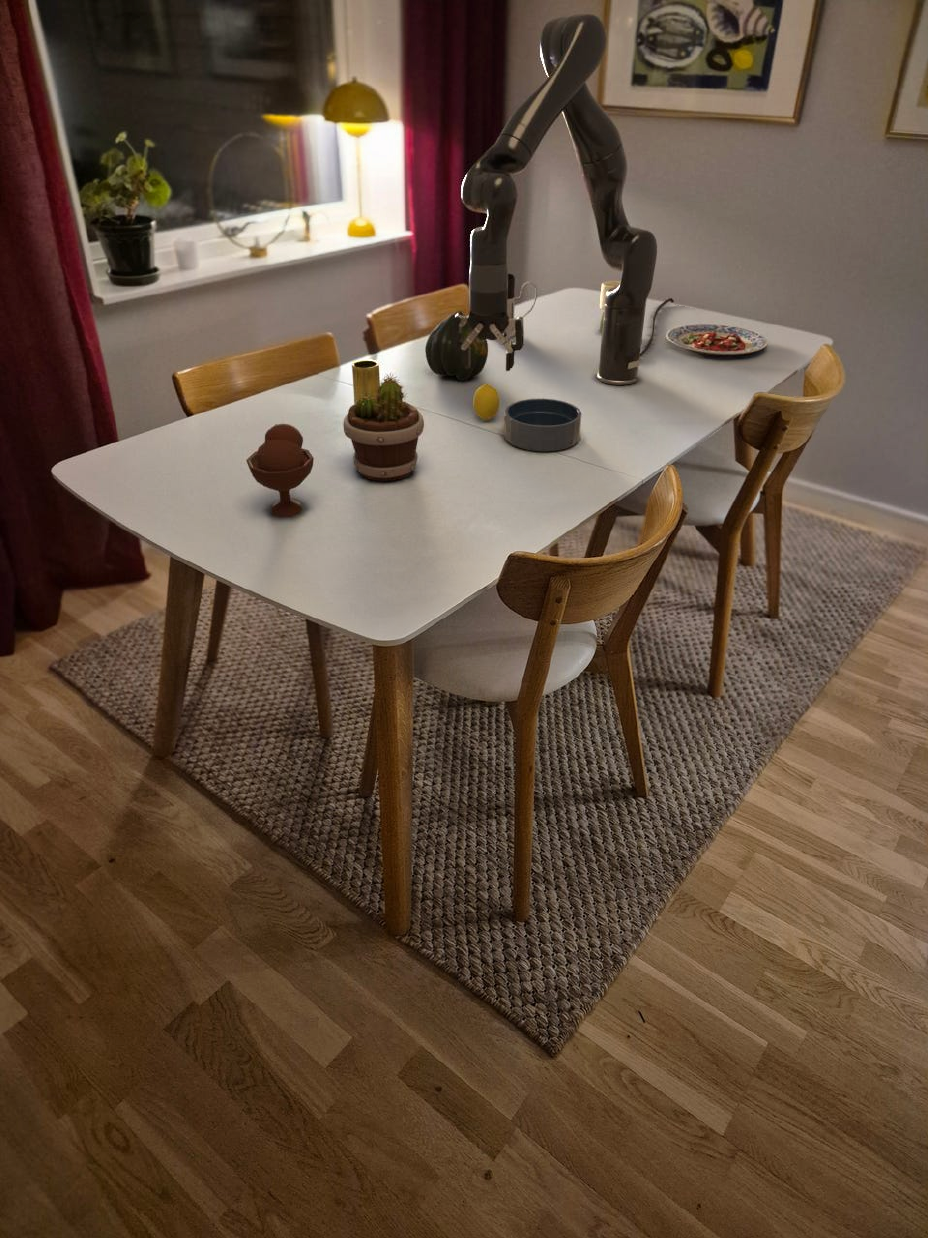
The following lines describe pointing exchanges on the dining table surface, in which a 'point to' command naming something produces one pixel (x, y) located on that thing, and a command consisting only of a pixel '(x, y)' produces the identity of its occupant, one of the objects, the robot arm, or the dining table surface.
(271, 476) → the ice cream bowl
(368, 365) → the vase
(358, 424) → the flowerpot
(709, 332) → the ceramic plate
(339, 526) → the dining table surface
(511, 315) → the glass holder
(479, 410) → the lemon
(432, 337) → the squash
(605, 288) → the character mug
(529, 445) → the bowl
